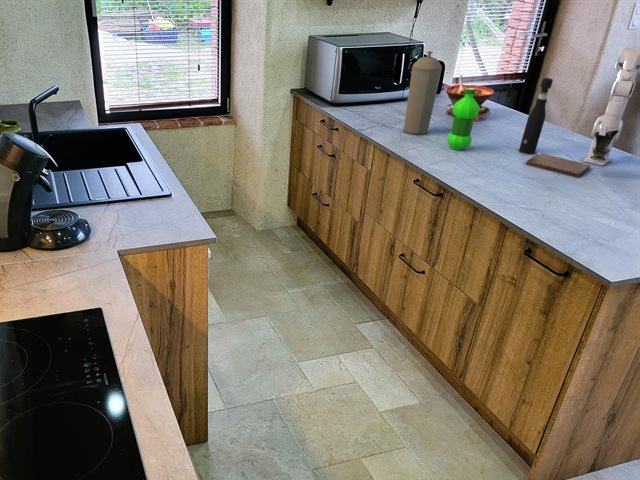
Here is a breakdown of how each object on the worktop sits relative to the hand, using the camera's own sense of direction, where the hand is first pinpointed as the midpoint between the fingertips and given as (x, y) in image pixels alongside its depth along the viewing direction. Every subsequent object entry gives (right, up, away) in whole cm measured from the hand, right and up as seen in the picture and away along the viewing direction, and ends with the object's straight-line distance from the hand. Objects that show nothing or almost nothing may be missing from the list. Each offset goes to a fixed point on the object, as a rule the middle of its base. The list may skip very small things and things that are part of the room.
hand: (600, 149), depth 227 cm
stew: (-24, +38, +75) cm, 87 cm away
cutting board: (-10, -4, +12) cm, 16 cm away
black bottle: (-15, +6, +27) cm, 32 cm away
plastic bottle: (-44, +8, +29) cm, 54 cm away
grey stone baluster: (0, -3, +2) cm, 4 cm away
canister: (-57, +21, +48) cm, 78 cm away
